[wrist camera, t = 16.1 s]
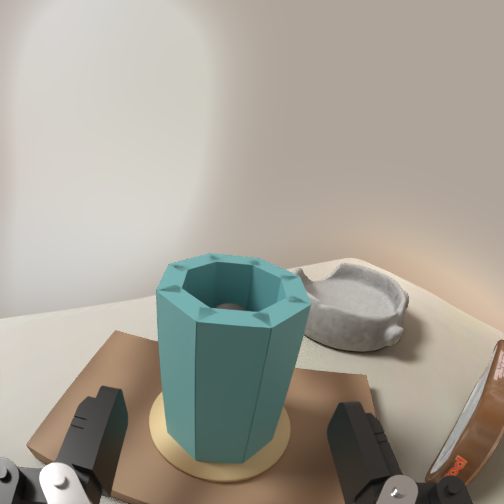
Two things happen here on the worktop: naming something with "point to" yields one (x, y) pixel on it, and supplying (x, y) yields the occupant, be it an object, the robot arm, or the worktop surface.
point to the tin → (475, 426)
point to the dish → (355, 308)
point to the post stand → (199, 472)
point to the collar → (227, 352)
